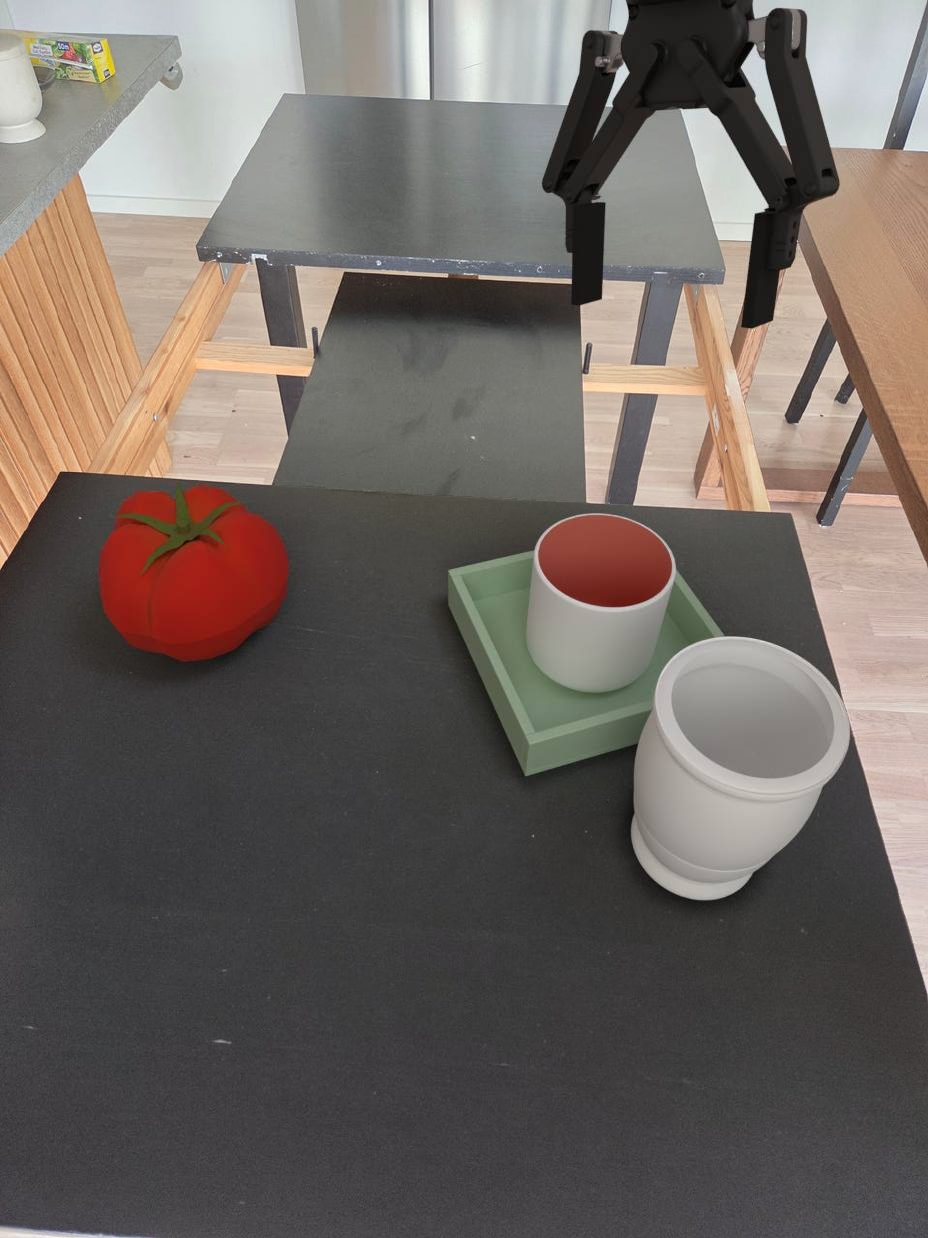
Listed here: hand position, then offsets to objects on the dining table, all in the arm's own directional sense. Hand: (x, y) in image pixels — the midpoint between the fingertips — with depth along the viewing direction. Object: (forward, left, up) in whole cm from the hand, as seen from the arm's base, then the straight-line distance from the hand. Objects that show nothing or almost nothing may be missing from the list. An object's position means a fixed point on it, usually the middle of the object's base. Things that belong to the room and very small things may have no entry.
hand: (665, 312), depth 58 cm
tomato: (+3, +35, -23) cm, 42 cm away
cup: (-10, +7, -23) cm, 26 cm away
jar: (-27, +7, -23) cm, 36 cm away
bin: (-10, +7, -23) cm, 26 cm away
